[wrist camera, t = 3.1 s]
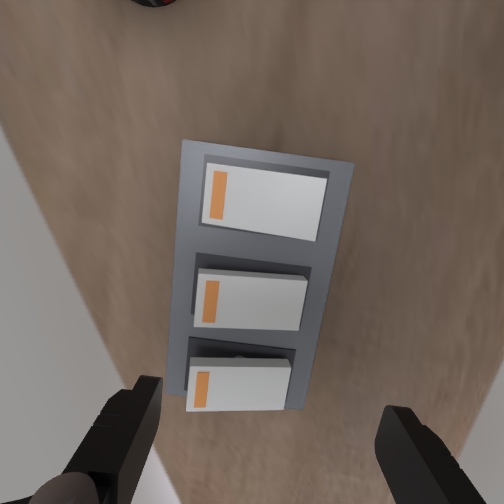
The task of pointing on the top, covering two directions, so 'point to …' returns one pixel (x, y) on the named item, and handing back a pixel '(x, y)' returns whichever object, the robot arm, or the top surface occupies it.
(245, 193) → the rocker
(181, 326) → the rocker switch panel
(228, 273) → the rocker
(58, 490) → the robot arm
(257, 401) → the rocker
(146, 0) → the deodorant
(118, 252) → the top surface
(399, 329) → the top surface
